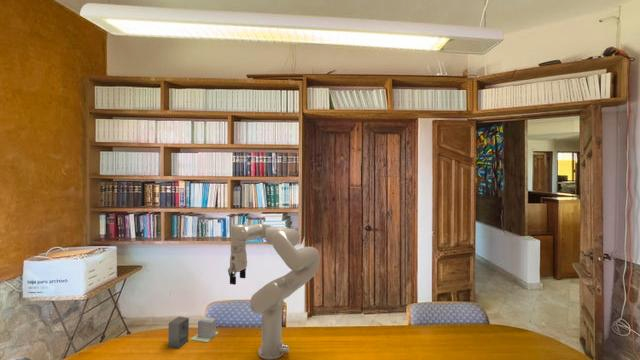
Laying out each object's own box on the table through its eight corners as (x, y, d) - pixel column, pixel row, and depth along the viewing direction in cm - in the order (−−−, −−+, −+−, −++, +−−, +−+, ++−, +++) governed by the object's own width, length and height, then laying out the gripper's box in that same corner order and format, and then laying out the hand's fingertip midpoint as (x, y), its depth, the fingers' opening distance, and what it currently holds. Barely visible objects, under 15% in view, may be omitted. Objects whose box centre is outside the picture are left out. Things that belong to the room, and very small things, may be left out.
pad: (218, 332, 157) (218, 332, 157) (207, 342, 147) (207, 341, 147) (202, 330, 159) (202, 329, 159) (190, 339, 149) (190, 339, 149)
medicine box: (215, 334, 154) (216, 318, 154) (211, 338, 150) (211, 322, 150) (202, 332, 155) (202, 316, 156) (197, 337, 151) (197, 320, 151)
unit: (188, 341, 148) (189, 318, 148) (179, 349, 141) (179, 324, 141) (178, 339, 149) (178, 316, 150) (167, 347, 143) (168, 322, 143)
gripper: (235, 252, 141) (235, 287, 141) (252, 245, 158) (252, 276, 158) (222, 251, 143) (221, 286, 143) (240, 244, 160) (240, 275, 160)
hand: (237, 281), depth 151 cm, fingers open, 9 cm apart
